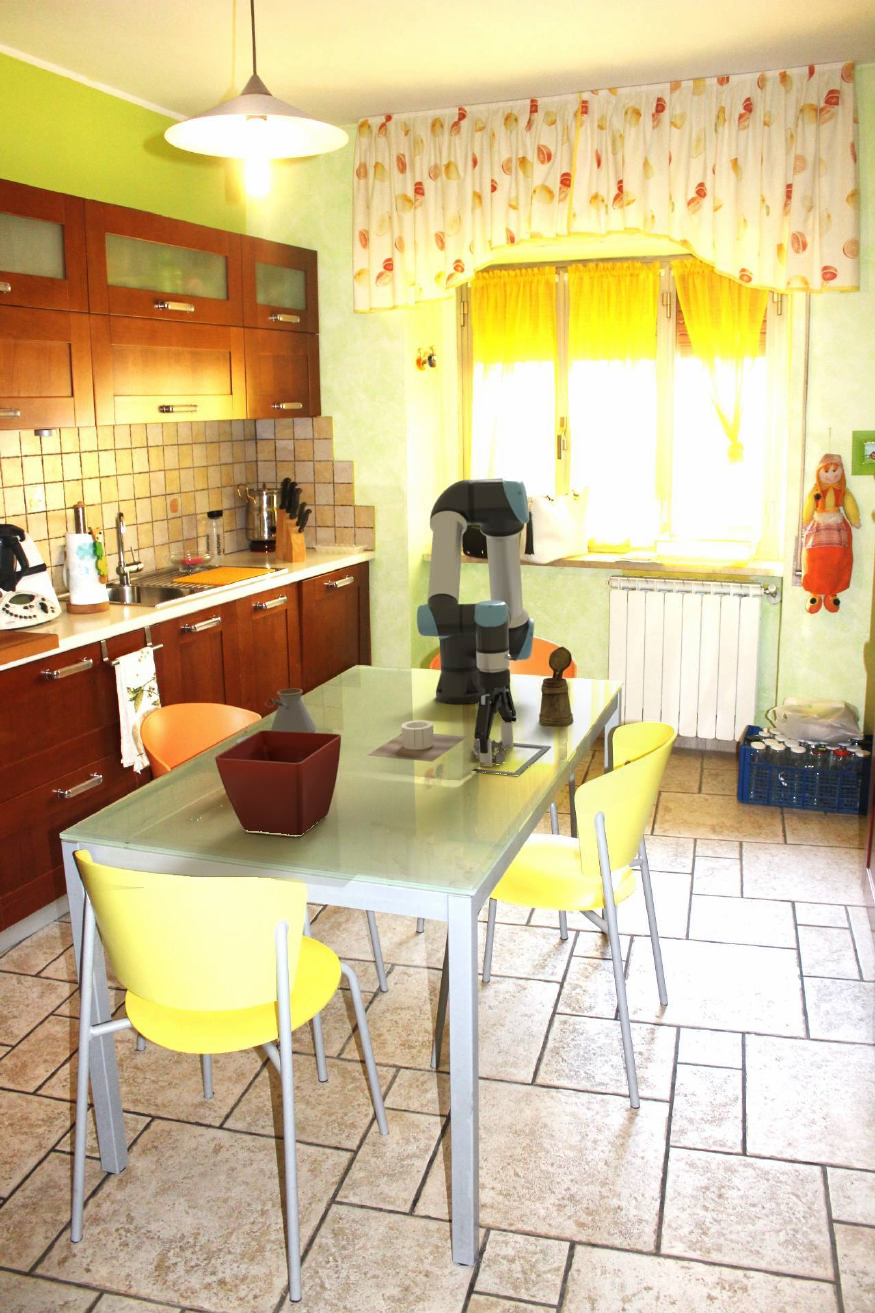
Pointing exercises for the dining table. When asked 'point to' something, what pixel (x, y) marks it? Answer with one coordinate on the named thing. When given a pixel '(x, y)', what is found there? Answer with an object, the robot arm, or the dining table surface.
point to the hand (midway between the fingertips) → (497, 757)
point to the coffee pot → (291, 712)
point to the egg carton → (496, 758)
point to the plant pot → (281, 779)
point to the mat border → (525, 765)
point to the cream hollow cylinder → (417, 735)
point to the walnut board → (397, 750)
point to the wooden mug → (556, 691)
